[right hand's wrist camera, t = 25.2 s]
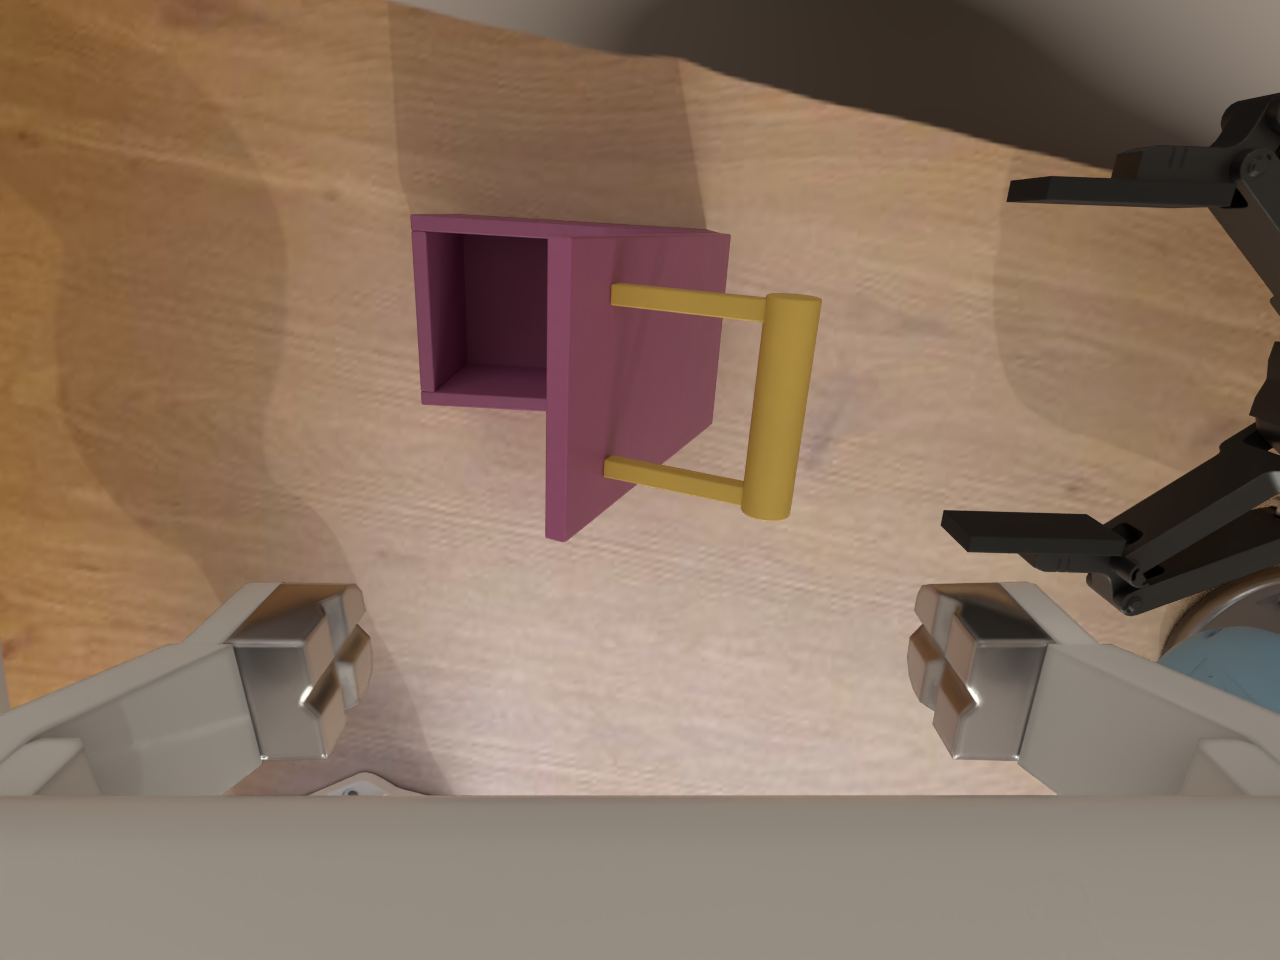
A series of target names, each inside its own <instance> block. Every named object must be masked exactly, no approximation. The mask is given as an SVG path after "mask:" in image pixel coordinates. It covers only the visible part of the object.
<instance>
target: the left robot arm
mask: <svg viewBox="0 0 1280 960" xmlns="http://www.w3.org/2000/svg"><path fill="white" fill-rule="evenodd" d="M1221 128H1222V133H1221V134H1220V136H1219V137H1218V138H1217V140H1216V141H1215V142H1214V143H1213V144H1212V145H1211V146H1209V147H1196V146H1169V145H1157V146H1150V147H1143V148H1136V149H1131V150H1129V151H1126V152H1123V153H1120V154H1118V155H1117V156H1116V160H1115V164H1114V168H1113V172H1112V176H1111V178H1088V177H1061V176H1048V177H1039V178H1030V179H1022V180H1013V181H1011V182H1010V187H1009V192H1008V197H1007V202H1020V203H1048V204H1075V205H1102V206H1129V207H1157V208H1194V207H1208V208H1209V210H1210V211H1211V212H1212V214H1213V215H1214V216H1215V218H1216V219H1217V220H1218V222H1219V223H1220V224H1221V226H1222V227H1223V228H1224V230H1225V231H1226V232H1227V234H1228V235H1229V236H1230V237H1231V239H1232V240H1233V241H1234V243H1235V244H1236V245H1237V247H1238V248H1239V249H1240V251H1241V252H1242V253H1243V255H1244V256H1245V257H1246V259H1247V260H1248V261H1249V263H1250V264H1251V265H1252V267H1253V268H1254V269H1255V271H1256V272H1257V273H1258V275H1259V276H1260V277H1261V279H1262V280H1263V281H1264V283H1265V284H1266V285H1267V287H1268V288H1269V289H1270V291H1271V292H1272V293H1273V295H1274V296H1273V297H1272V298H1271V299H1270V303H1271V305H1272V306H1273V308H1274V309H1275V310H1276V312H1277V313H1278V314H1279V315H1280V93H1276V94H1271V95H1266V96H1261V97H1256V98H1252V99H1247V100H1242V101H1237V102H1235V103H1234V104H1232V105H1230V106H1229V107H1228V108H1227V109H1226V111H1225V112H1224V114H1223V116H1222V120H1221ZM1249 415H1250V416H1254V417H1256V422H1255V423H1253V424H1251V425H1250V426H1248V427H1247V428H1245V429H1243V430H1242V431H1240V432H1238V433H1237V434H1235V435H1234V436H1232V437H1230V438H1229V439H1227V440H1226V441H1224V442H1223V443H1222V444H1221V445H1220V446H1219V448H1220V452H1219V454H1217V455H1216V456H1214V457H1213V458H1211V459H1209V460H1208V461H1206V462H1205V463H1203V464H1201V465H1200V466H1198V467H1196V468H1195V469H1193V470H1192V471H1190V472H1188V473H1187V474H1185V475H1183V476H1182V477H1180V478H1179V479H1177V480H1175V481H1174V482H1172V483H1170V484H1169V485H1167V486H1165V487H1164V488H1162V489H1161V490H1159V491H1157V492H1156V493H1154V494H1152V495H1151V496H1149V497H1148V498H1146V499H1144V500H1143V501H1141V502H1139V503H1138V504H1136V505H1135V506H1133V507H1131V508H1130V509H1128V510H1126V511H1125V512H1123V513H1122V514H1120V515H1118V516H1117V517H1115V518H1113V519H1112V520H1110V521H1109V522H1107V523H1105V524H1104V525H1103V524H1101V523H1099V522H1098V521H1096V520H1095V519H1093V518H1092V517H1090V516H1089V515H1087V514H1060V513H1025V512H990V511H955V510H944V512H943V516H942V521H941V526H942V527H943V528H944V529H945V530H946V531H947V532H948V533H949V534H950V535H951V536H952V537H953V538H954V539H955V540H956V541H957V542H958V543H959V544H960V545H961V546H962V547H963V548H964V549H965V550H966V551H967V552H984V553H1018V554H1019V555H1020V556H1021V557H1022V558H1024V559H1025V560H1026V561H1027V562H1028V563H1029V564H1031V565H1032V566H1033V567H1034V568H1037V569H1039V570H1041V571H1044V572H1056V571H1057V572H1076V573H1088V575H1087V577H1086V582H1087V584H1088V586H1089V587H1091V588H1092V589H1093V590H1094V591H1095V592H1097V593H1098V594H1099V595H1100V596H1102V597H1103V598H1104V599H1105V600H1107V601H1108V602H1109V603H1111V604H1112V605H1113V606H1114V607H1116V608H1117V609H1118V610H1119V611H1121V612H1122V613H1123V614H1125V615H1127V616H1134V615H1138V614H1141V613H1144V612H1146V611H1149V610H1152V609H1155V608H1158V607H1160V606H1163V605H1166V604H1169V603H1171V602H1174V601H1177V600H1180V599H1182V598H1185V597H1188V596H1191V595H1194V594H1196V593H1199V592H1202V591H1205V590H1207V589H1210V588H1213V587H1216V586H1218V585H1221V584H1224V583H1227V582H1228V583H1227V584H1225V585H1223V586H1221V587H1219V588H1218V589H1216V590H1215V591H1213V592H1211V593H1210V594H1209V595H1207V596H1206V597H1204V598H1203V599H1202V600H1201V601H1199V602H1198V603H1197V604H1196V605H1195V606H1194V607H1193V608H1192V609H1191V610H1190V611H1189V612H1188V613H1187V614H1186V615H1185V616H1184V617H1183V618H1182V619H1181V621H1180V622H1179V623H1178V625H1177V626H1176V627H1175V629H1174V630H1173V632H1172V634H1171V635H1170V637H1169V639H1168V641H1167V643H1166V646H1165V648H1164V651H1163V654H1162V657H1161V658H1160V659H1159V660H1158V661H1157V662H1156V663H1158V664H1160V665H1163V666H1165V667H1168V668H1170V669H1172V670H1175V671H1177V672H1180V673H1182V674H1184V675H1187V676H1189V677H1192V678H1194V679H1196V680H1199V681H1201V682H1204V683H1206V684H1208V685H1211V686H1213V687H1216V688H1218V689H1220V690H1223V691H1225V692H1228V693H1230V694H1232V695H1235V696H1237V697H1240V698H1242V699H1244V700H1247V701H1249V702H1252V703H1254V704H1256V705H1259V706H1261V707H1264V708H1266V709H1268V710H1271V711H1273V712H1276V713H1278V714H1280V567H1277V568H1270V569H1266V568H1268V567H1271V566H1274V565H1277V564H1279V563H1280V496H1279V497H1275V498H1273V499H1272V500H1271V501H1270V507H1264V508H1258V509H1253V508H1255V507H1256V506H1258V505H1260V504H1261V503H1263V502H1265V501H1266V500H1268V499H1270V498H1271V497H1273V496H1275V495H1277V494H1280V455H1277V454H1274V453H1271V452H1269V451H1268V450H1270V449H1271V448H1274V449H1275V450H1276V451H1277V452H1278V453H1279V454H1280V342H1275V343H1274V345H1273V348H1272V351H1271V354H1270V357H1269V360H1268V369H1267V379H1266V381H1265V383H1264V384H1263V386H1262V387H1261V389H1260V391H1259V392H1258V394H1257V395H1256V397H1255V399H1254V402H1253V405H1252V408H1251V411H1250V413H1249ZM1251 509H1253V510H1251ZM1127 546H1128V547H1127ZM1263 569H1265V570H1263ZM1260 570H1261V571H1260ZM1232 580H1233V581H1232ZM1230 581H1231V582H1230Z"/></svg>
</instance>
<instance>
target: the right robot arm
mask: <svg viewBox="0 0 1280 960" xmlns="http://www.w3.org/2000/svg"><path fill="white" fill-rule="evenodd" d="M365 611H366V609H365V605H364V600H363V595H362V591H361V590H360V588H359V587H358V586H357V585H356V584H341V583H285V582H256V583H247V584H244V585H243V586H242V587H241V588H240V589H239V590H238V591H237V592H236V593H235V594H234V595H233V596H232V597H230V598H229V599H228V600H227V601H226V602H225V603H224V604H223V605H222V606H221V607H220V608H219V609H218V610H216V611H215V612H214V613H213V614H212V615H211V616H210V617H209V618H208V619H207V620H206V621H205V622H204V623H202V624H201V625H200V626H199V627H198V628H197V629H196V630H195V631H194V632H193V633H192V634H191V635H190V636H188V637H187V638H186V639H185V640H184V641H183V642H182V643H181V644H168V645H165V646H163V647H160V648H158V649H156V650H153V651H151V652H148V653H146V654H144V655H141V656H139V657H136V658H134V659H132V660H129V661H127V662H124V663H122V664H120V665H117V666H115V667H112V668H110V669H107V670H105V671H103V672H100V673H98V674H95V675H93V676H91V677H88V678H86V679H83V680H81V681H79V682H76V683H74V684H71V685H69V686H67V687H64V688H62V689H59V690H57V691H54V692H52V693H50V694H47V695H45V696H42V697H40V698H38V699H35V700H33V701H30V702H28V703H26V704H23V705H21V706H18V707H16V708H13V709H11V710H9V711H6V712H4V713H1V714H0V960H1280V714H1278V713H1276V712H1273V711H1271V710H1268V709H1266V708H1264V707H1261V706H1259V705H1256V704H1254V703H1252V702H1249V701H1247V700H1244V699H1242V698H1240V697H1237V696H1235V695H1232V694H1230V693H1228V692H1225V691H1223V690H1220V689H1218V688H1216V687H1213V686H1211V685H1208V684H1206V683H1204V682H1201V681H1199V680H1196V679H1194V678H1192V677H1189V676H1187V675H1184V674H1182V673H1180V672H1177V671H1175V670H1172V669H1170V668H1168V667H1165V666H1163V665H1160V664H1158V663H1156V662H1153V661H1151V660H1148V659H1146V658H1144V657H1141V656H1139V655H1136V654H1134V653H1132V652H1129V651H1127V650H1124V649H1122V648H1119V647H1117V646H1115V645H1112V644H1099V643H1098V642H1097V641H1096V640H1095V639H1094V638H1093V637H1092V636H1091V635H1089V634H1088V633H1087V632H1086V631H1085V630H1084V629H1083V628H1082V627H1081V626H1080V625H1079V624H1078V623H1077V622H1075V621H1074V620H1073V619H1072V618H1071V617H1070V616H1069V615H1068V614H1067V613H1066V612H1065V611H1064V610H1063V609H1062V608H1060V607H1059V606H1058V605H1057V604H1056V603H1055V602H1054V601H1053V600H1052V599H1051V598H1050V597H1049V596H1048V595H1046V594H1045V593H1044V592H1043V591H1042V590H1041V589H1040V588H1039V587H1038V586H1037V585H1036V584H1032V583H1029V582H1006V583H958V584H928V585H922V586H921V588H920V590H919V592H918V594H917V598H916V604H915V609H914V611H915V613H916V614H917V616H918V617H919V619H920V621H921V622H922V625H921V626H920V627H919V628H918V629H917V630H916V631H915V632H914V633H913V634H912V635H911V636H910V639H909V647H908V654H907V661H908V672H909V678H910V681H911V684H912V687H913V690H914V692H915V694H916V696H917V698H918V699H919V701H920V702H921V703H922V704H924V705H926V706H927V707H929V708H930V709H932V710H933V711H935V713H934V718H933V726H934V727H935V729H936V731H937V733H938V734H939V736H940V738H941V740H942V741H943V743H944V745H945V746H946V748H947V750H948V752H949V753H950V755H951V757H952V758H953V759H963V760H1000V761H1018V763H1017V764H1018V765H1020V766H1021V767H1022V768H1024V769H1025V770H1026V771H1028V772H1029V773H1030V774H1032V775H1033V776H1034V777H1035V778H1037V779H1038V780H1039V781H1041V782H1042V783H1043V784H1045V785H1046V786H1047V787H1049V788H1050V789H1051V790H1053V791H1054V792H1055V793H1057V794H1058V795H768V796H569V795H424V794H421V793H417V792H413V791H408V790H405V789H401V788H398V787H396V786H394V785H393V784H391V783H390V782H388V781H386V780H385V779H383V778H381V777H379V776H377V775H375V774H372V773H368V772H362V773H358V774H356V775H354V776H351V777H349V778H347V779H344V780H342V781H340V782H337V783H335V784H333V785H330V786H328V787H326V788H323V789H321V790H319V791H317V792H314V793H312V794H310V795H222V794H224V793H225V792H226V791H228V790H229V789H230V788H232V787H233V786H234V785H236V784H237V783H238V782H239V781H241V780H242V779H243V778H245V777H246V776H247V775H249V774H250V773H251V772H253V771H254V770H255V769H257V768H258V767H259V766H261V765H262V761H279V760H315V759H328V757H329V755H330V753H331V752H332V750H333V748H334V746H335V745H336V743H337V741H338V740H339V738H340V736H341V734H342V733H343V731H344V729H345V727H346V726H347V719H346V713H345V711H347V710H348V709H350V708H351V707H353V706H354V705H356V704H358V703H359V702H360V701H361V699H362V697H363V696H364V694H365V692H366V690H367V688H368V684H369V680H370V676H371V672H372V645H371V639H370V636H369V635H368V634H367V633H366V632H365V631H364V630H363V629H362V628H361V627H360V626H359V625H358V622H359V621H360V619H361V617H362V616H363V614H364V613H365Z"/></svg>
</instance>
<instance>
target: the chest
mask: <svg viewBox="0 0 1280 960" xmlns="http://www.w3.org/2000/svg"><path fill="white" fill-rule="evenodd" d="M411 229H412V230H413V231H412V247H413V264H414V281H415V298H416V314H417V331H418V348H419V365H420V381H421V391H422V392H421V399H422V404H423V405H439V406H457V407H475V408H493V409H511V410H529V411H546V397H547V272H548V236H549V235H604V234H702V233H717V232H714V231H710V230H707V229H691V228H675V227H658V226H642V225H625V224H609V223H593V222H576V221H560V220H544V219H527V218H511V217H494V216H478V215H462V214H417V215H411ZM719 234H721V233H719Z"/></svg>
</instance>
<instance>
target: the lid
mask: <svg viewBox="0 0 1280 960" xmlns="http://www.w3.org/2000/svg"><path fill="white" fill-rule="evenodd" d="M730 238H731V235H730V234H719V233H702V234H604V235H549V236H548V272H547V397H546V522H545V537H546V538H548V539H552V540H556V541H560V542H566V541H568V540H569V539H570V538H571V537H573V536H574V535H575V534H576V533H577V532H579V531H580V530H581V529H582V528H584V527H585V526H586V525H587V524H589V523H590V522H591V521H592V520H594V519H595V518H596V517H597V516H599V515H600V514H601V513H602V512H603V511H605V510H606V509H607V508H608V507H610V506H611V505H612V504H613V503H615V502H616V501H617V500H618V499H620V498H621V497H622V496H623V495H624V494H626V493H627V492H628V491H629V490H631V489H632V488H633V487H634V486H636V485H637V484H640V485H645V486H650V487H655V488H659V489H664V490H669V491H674V492H678V493H683V494H688V495H693V496H697V497H702V498H707V499H712V500H716V501H721V502H726V503H731V504H735V505H740V506H741V510H742V512H743V513H744V514H746V515H747V516H749V517H752V518H755V519H758V520H764V521H780V520H784V519H786V518H788V516H789V515H790V510H791V503H792V497H793V490H794V483H795V477H796V470H797V463H798V457H799V450H800V443H801V437H802V430H803V423H804V416H805V410H806V403H807V396H808V390H809V383H810V376H811V370H812V363H813V356H814V350H815V343H816V336H817V329H818V323H819V316H820V309H821V303H822V300H821V299H820V298H818V297H814V296H808V295H800V294H787V293H771V294H767V296H766V298H765V297H755V296H745V295H735V294H725V288H726V278H727V268H728V258H729V248H730ZM722 318H729V319H738V320H747V321H755V322H763V327H762V335H761V343H760V351H759V360H758V368H757V376H756V385H755V393H754V401H753V410H752V418H751V426H750V434H749V443H748V451H747V459H746V468H745V476H744V481H741V480H735V479H730V478H725V477H720V476H715V475H710V474H705V473H700V472H695V471H690V470H685V469H680V468H675V467H670V466H665V465H662V464H663V463H664V462H665V461H667V460H668V459H669V458H670V457H671V456H673V455H674V454H675V453H676V452H678V451H679V450H680V449H681V448H683V447H684V446H685V445H686V444H688V443H689V442H690V441H691V440H692V439H694V438H695V437H696V436H697V435H699V434H700V433H701V432H702V431H704V430H705V429H706V428H707V427H709V426H710V425H711V424H712V419H713V409H714V399H715V389H716V379H717V369H718V359H719V349H720V338H721V328H722Z"/></svg>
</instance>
